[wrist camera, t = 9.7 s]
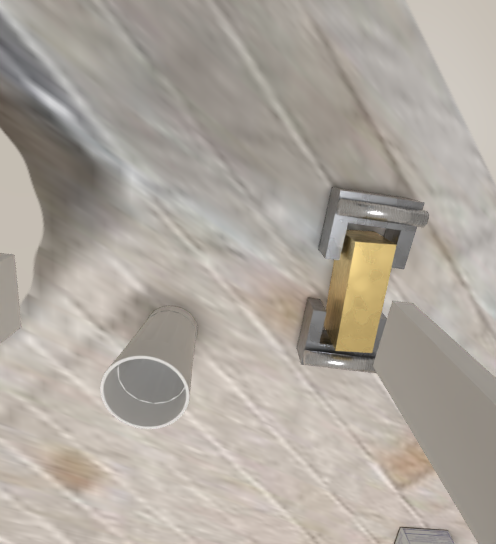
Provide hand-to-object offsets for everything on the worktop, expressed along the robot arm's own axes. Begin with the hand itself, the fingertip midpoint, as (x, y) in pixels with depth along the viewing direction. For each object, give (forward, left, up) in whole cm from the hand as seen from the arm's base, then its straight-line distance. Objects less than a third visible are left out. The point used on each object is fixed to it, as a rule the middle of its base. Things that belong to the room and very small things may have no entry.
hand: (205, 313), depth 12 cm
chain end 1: (0, +15, -27) cm, 30 cm away
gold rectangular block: (+7, +15, -27) cm, 31 cm away
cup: (+16, -5, -27) cm, 32 cm away
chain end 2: (+13, +15, -26) cm, 33 cm away
